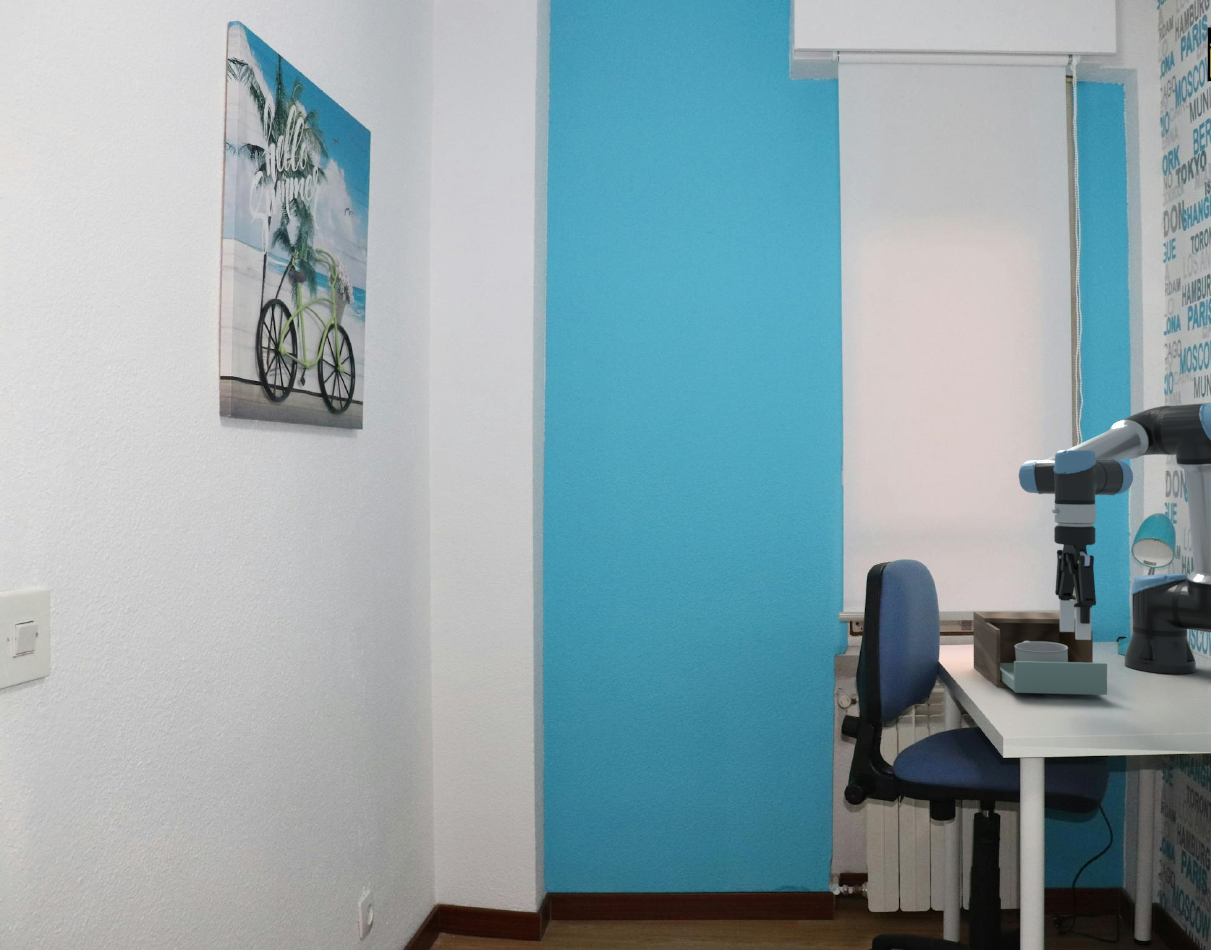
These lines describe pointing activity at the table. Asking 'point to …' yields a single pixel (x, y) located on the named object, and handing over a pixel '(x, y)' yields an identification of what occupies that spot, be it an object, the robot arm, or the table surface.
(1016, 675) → the drawer
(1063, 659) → the teacup
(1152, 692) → the table surface
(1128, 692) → the table surface
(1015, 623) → the cubby
